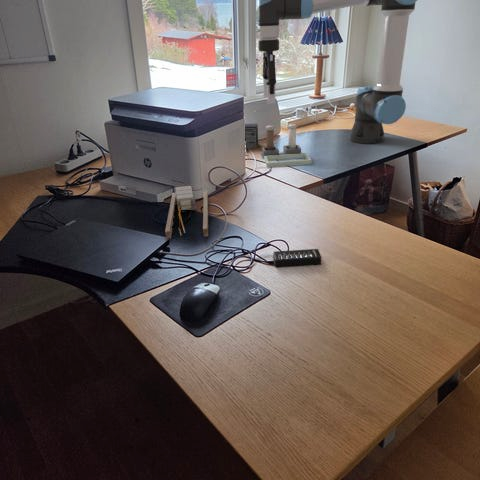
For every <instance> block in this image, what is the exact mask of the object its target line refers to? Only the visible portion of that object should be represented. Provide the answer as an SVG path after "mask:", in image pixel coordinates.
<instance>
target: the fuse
mask: <svg viewBox="0 0 480 480" xmlns="http://www.w3.org/2000/svg"><path fill="white" fill-rule="evenodd" d="M297 127H298V126H297V124H295V123H290V124H288V126H287V129H288V144H287V145H288V149H296V145H297Z"/></svg>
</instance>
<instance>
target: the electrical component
mask: <svg viewBox="0 0 480 480" xmlns="http://www.w3.org/2000/svg"><path fill="white" fill-rule="evenodd" d="M191 186H192V185H184V186H175V193H176V196H177V203H176V205H177V211H179V212H178V216H179V221H180V223H181V226H182V229H183V233H184V234H186V230H185V226H184V223H183V220H182V219H183V218H182V215H181V210H191V211H195V210H196V211H197V207H196V200H195V199H194V197H193V195H194V192H193V190H194V187H191ZM178 216H177V217H178ZM178 231H179V235H180V236H182V232H181V227H180V228H179V227H178Z"/></svg>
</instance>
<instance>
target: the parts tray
mask: <svg viewBox="0 0 480 480" xmlns="http://www.w3.org/2000/svg"><path fill="white" fill-rule="evenodd" d="M290 159H296V160H290ZM263 160H264V162H265V165H266V167H267V168H268V167H269V168H272V167H273V168H274V167H286V166H287V167H288V166H300V165H302V166H303V165H312V161H313V160H312V159H311V156H309V154H308V153H307V152H304V153H302V152H301V154H286V155H271V156H264V159H263ZM275 160H280V161H275ZM282 160H283V161H282ZM269 161H270V162H269Z"/></svg>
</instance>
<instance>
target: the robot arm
mask: <svg viewBox="0 0 480 480" xmlns="http://www.w3.org/2000/svg"><path fill="white" fill-rule="evenodd" d="M417 1H418V0H257V24H258V28H257V29H256V33H258V39H259V40H258V51H259V52H263V53H262V55H263V56H262V78H263V83H262V84H263V86H262V88H263V89H262V90H263V92H262V93H263V98H267V104H276V84H277V76H276V75H277V74H276V73H277V72H276V55H275V54H274V52H278V51H279V50H280V40H279V39H278V38H280V21H283V20H285V21H286V20H306V19H310V18H311V17H312V15H315V14H319V13H323V12H324V13H325V12H329V11H334V10H338V9H339V10H340V9H344V8H348V7H353V6H359V5H361V6H363V7H368V6H381V9H380V11H381V13H382V14H383V15H384V20H383V29H382V37H381V38H382V39H381V46H380V55H379V63H378V64H379V65H378V73H377V81H376V84H375V85H367V86H366V85H365V86H360V87H358V88H357V93H356V94H355V95H356V99H355V100H356V103H355V113H354V114H355V116H354V123H353V125H352V128H351V131H350V132H349V140H350V141H351V142H352V143H353V142H354V143H359V144H377V143H382V142H384V140H385V131H384V127H383V125H391V124H395V123H397V122H398V121H399V120H400V119H401V118H402V117H403V115H405V111H406V110H407V109H406V108H407V104H406V101H405V99H404V97H403V93H404V91H403V90H404V87H403V86H402V85H401V77H402V76H401V75H402V70H403V61H404V55H405V49H406V48H405V47H406V41H407V34H408V27H409V19H410V15H411V14H412V13H413V12H414V11H415V9H416V2H417Z"/></svg>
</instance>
